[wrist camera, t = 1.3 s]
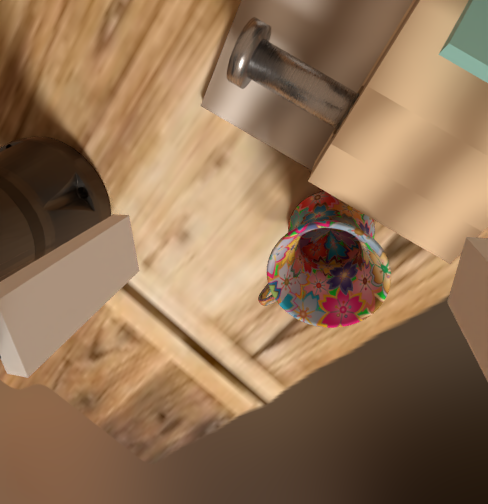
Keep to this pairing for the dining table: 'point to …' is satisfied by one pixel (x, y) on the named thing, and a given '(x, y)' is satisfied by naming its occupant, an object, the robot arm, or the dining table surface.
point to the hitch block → (376, 113)
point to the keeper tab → (470, 40)
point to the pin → (287, 76)
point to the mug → (328, 265)
